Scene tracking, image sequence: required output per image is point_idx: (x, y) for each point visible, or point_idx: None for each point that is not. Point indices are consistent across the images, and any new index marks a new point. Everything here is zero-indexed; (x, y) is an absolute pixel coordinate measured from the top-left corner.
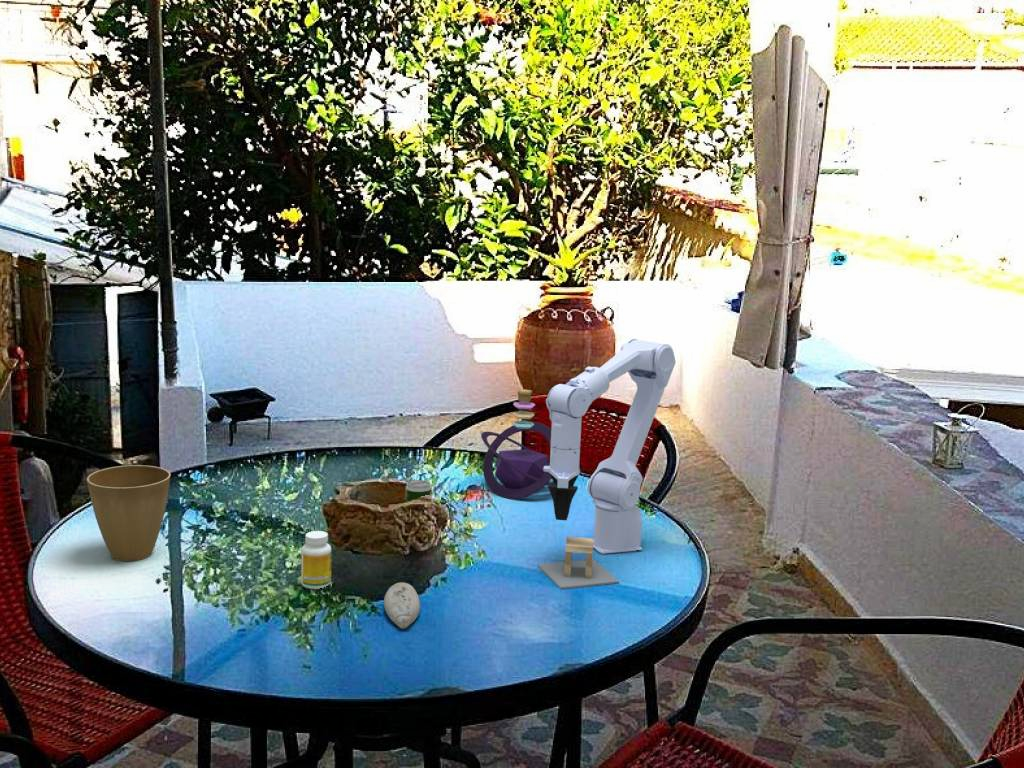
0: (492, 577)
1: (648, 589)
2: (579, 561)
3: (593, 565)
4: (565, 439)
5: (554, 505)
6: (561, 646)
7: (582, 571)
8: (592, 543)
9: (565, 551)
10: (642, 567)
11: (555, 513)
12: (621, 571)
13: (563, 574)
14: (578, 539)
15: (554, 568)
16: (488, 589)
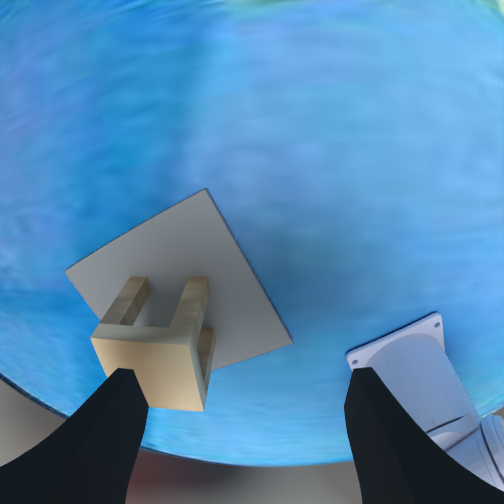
0: (78, 70)
1: (153, 414)
2: (266, 312)
3: (243, 344)
4: None
5: (62, 425)
6: None
7: None
8: (154, 405)
9: (99, 324)
10: (271, 416)
11: (97, 390)
12: (234, 388)
13: (145, 274)
14: (173, 377)
15: (183, 246)
16: (11, 94)
